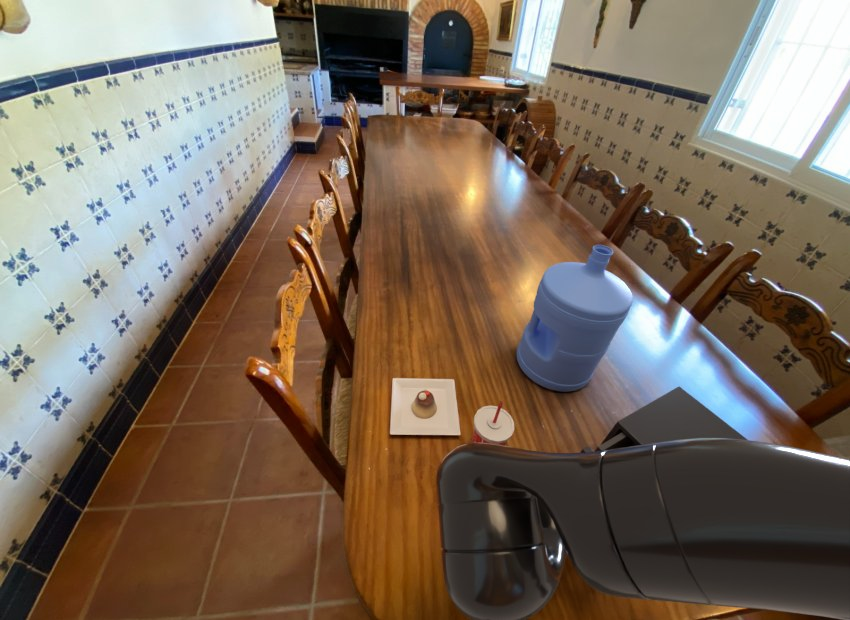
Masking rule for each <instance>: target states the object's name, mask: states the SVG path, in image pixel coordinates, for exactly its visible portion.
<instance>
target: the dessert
mask: <svg viewBox="0 0 850 620" xmlns="http://www.w3.org/2000/svg"><path fill="white" fill-rule="evenodd" d="M389 423H390V425H389V435H398V436H399V435H401V436H403V435H408V436H409V435H411V436H416V435H417V436H461V434H462V433H461V426H460V416H459V409H458V401H457V392H456V383H455V379H454V378H414V377H413V378H412V377H411V378H410V377H409V378H408V377H393V378H392V383H391V403H390V422H389Z"/></svg>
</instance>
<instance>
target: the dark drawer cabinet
mask: <svg viewBox="0 0 850 620" xmlns="http://www.w3.org/2000/svg"><path fill="white" fill-rule="evenodd" d="M622 432H624V433H625V434H626V435H627V436H628V437H629V438H630V439H631V440H632V441H633V442H634V443H635V444H636V445H637V446H638V445H645V444H652V443H660V442H667V441H674V440H683V439H696V438H727V439H742V440H748V438H747V437H745V436H744V435H742V434H741V433H740V432H739V431H737V430H736V429H735V428H733V427H732V426H731V425H730V424H728V423H727V422H726V421H724V420H723V419H722V418H721V417H719V416H718V415H717V414H716V413H714V412H713V411H712V410H711V409H709V408H708V407H706V406H705V405H704V404H703V403H701V402H700V401H699V400H698V399H696V398H695V397H694V396H692V395H691V394H690V393H689V392H687V391H686V390H685V389H683V388H682V387H681V386H677V387H675V388H673V389H672V390H669V391H668V392H667V393H665V394H663V395H661V396H659V397H658V398H656V399H654V400H651V402H649V403H648V404H646V405H644V406H642V407H640V408H638V409H637V410H635V411H633V412H632V413H630V414H628V415H626V416H625V417H623V418H621V419H619V420H617V422H616V423H615V424H614V425H613V426H612V428H611V429H610V431H609V432H608V434H607V435H606V436H605V438H604V439H603V441H602V442H601V443H600V445H602V444H603V443H605V442H607V441H608V440H610V439H612V438H613V437H615V436H617V435H618V434H620V433H622Z"/></svg>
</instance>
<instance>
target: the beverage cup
mask: <svg viewBox="0 0 850 620" xmlns="http://www.w3.org/2000/svg"><path fill="white" fill-rule="evenodd" d="M503 404H504V402H503V401H499V402H498V405H497V406H496V405H485V406H482V407H480V408H478V409H477V411H476V413H475V415H474V418H473V433H472V438H471V443H490V444H497V445H503V446H506V445H507V444H506V443H507V442H508V441H509V440H510V439H511V438H512V436H513V434H514V431H515V422H514V420H513V417H512V415H511V414H510V413H509V412H508V411H507V410H505V409H504V408H502V407H503Z"/></svg>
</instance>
